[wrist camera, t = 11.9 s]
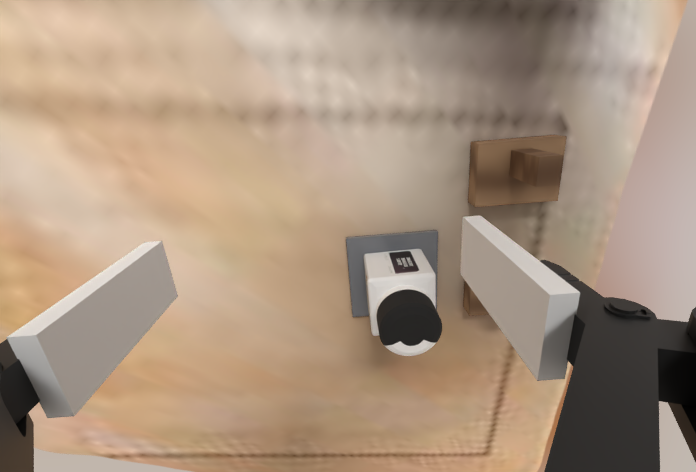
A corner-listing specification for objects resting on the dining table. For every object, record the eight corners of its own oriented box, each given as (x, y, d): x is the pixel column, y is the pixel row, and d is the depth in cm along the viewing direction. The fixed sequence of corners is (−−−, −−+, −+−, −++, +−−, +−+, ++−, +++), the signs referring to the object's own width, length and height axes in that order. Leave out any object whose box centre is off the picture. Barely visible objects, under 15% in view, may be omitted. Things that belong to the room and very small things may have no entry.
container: (363, 252, 46) (371, 305, 34) (421, 247, 46) (450, 298, 33) (367, 303, 48) (376, 368, 36) (422, 298, 48) (449, 362, 36)
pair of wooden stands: (470, 141, 42) (501, 149, 34) (553, 134, 42) (604, 141, 34) (463, 305, 50) (486, 343, 42) (532, 300, 50) (569, 337, 42)
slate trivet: (346, 237, 46) (346, 238, 45) (436, 229, 45) (437, 231, 45) (352, 314, 50) (352, 317, 49) (435, 308, 50) (436, 310, 49)
